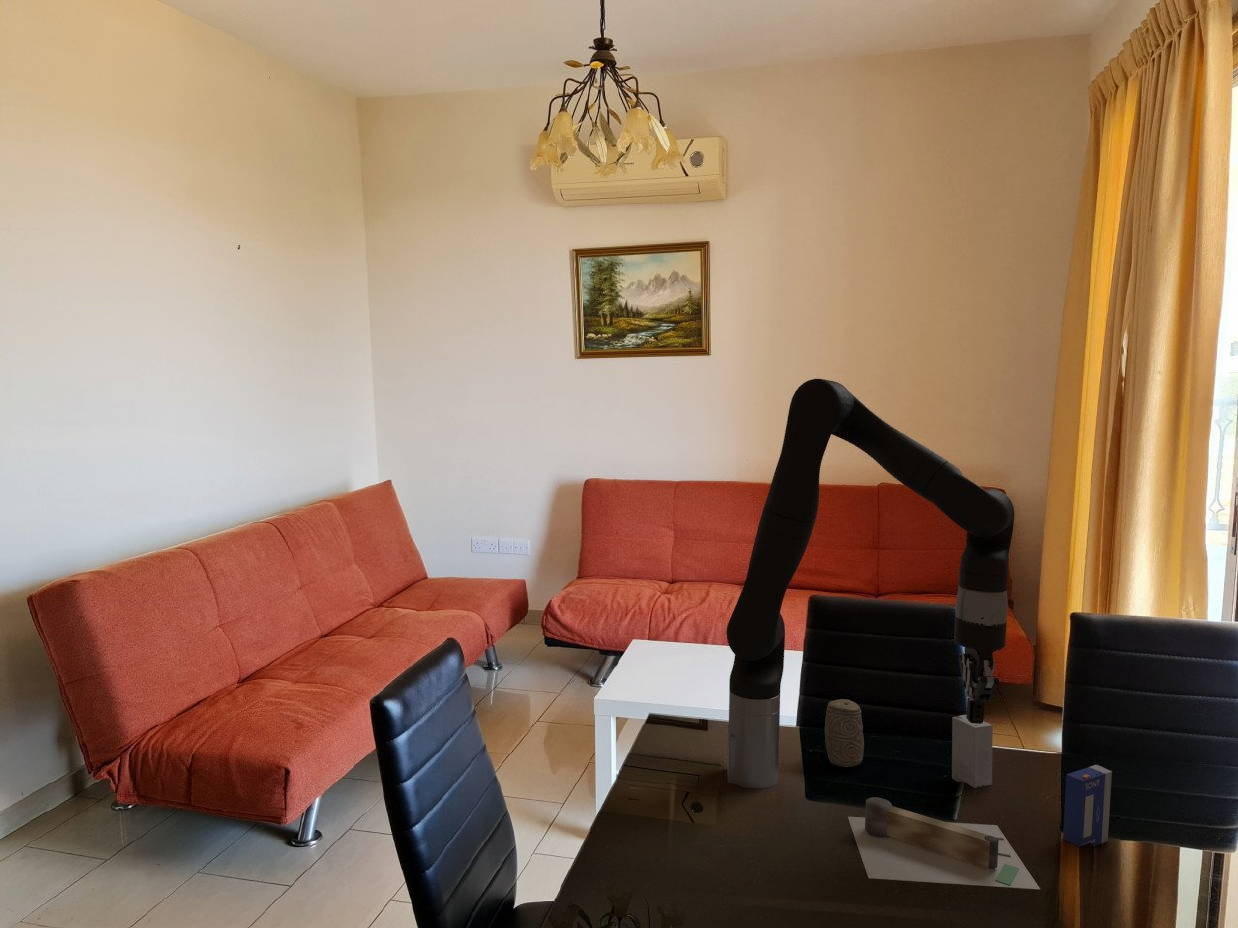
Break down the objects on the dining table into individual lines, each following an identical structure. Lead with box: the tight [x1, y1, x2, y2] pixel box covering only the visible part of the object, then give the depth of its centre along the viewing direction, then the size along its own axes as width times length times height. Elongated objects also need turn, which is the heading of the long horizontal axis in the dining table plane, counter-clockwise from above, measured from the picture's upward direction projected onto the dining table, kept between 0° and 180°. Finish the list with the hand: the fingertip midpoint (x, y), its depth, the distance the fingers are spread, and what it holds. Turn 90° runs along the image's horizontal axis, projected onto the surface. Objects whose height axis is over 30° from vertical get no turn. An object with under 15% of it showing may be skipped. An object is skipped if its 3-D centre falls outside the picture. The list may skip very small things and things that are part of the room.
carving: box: [824, 698, 865, 768], centre depth 162 cm, size 6×8×12 cm
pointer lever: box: [864, 797, 999, 869], centre depth 130 cm, size 20×4×4 cm, turn 53°
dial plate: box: [847, 816, 1041, 891], centre depth 130 cm, size 24×18×1 cm
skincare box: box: [951, 714, 994, 789], centre depth 154 cm, size 6×4×12 cm
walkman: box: [1062, 764, 1113, 848], centre depth 134 cm, size 8×3×12 cm, turn 118°
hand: (974, 721), depth 134 cm, fingers closed
